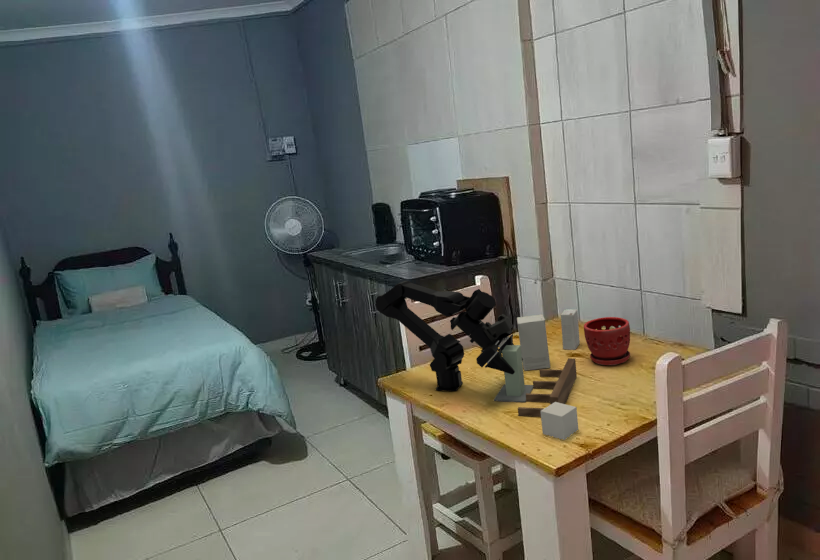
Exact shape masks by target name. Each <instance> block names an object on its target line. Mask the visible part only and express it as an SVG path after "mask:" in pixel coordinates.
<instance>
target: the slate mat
mask: <svg viewBox="0 0 820 560" xmlns="http://www.w3.org/2000/svg"><path fill="white" fill-rule="evenodd" d="M533 389H534V388H533V384H525V390H524V392H523V394H522V395H521V396H507V393H506V384H505V383H504V384H503V385H502V386H501V388H500V390H499V391H498V392H497V394H496V395H495V397H494V398H493V401H494V402H505V403H506V402H507V403H526V402H527V401H526V393H531V394H532V391H533Z"/></svg>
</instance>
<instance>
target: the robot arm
mask: <svg viewBox="0 0 820 560" xmlns="http://www.w3.org/2000/svg"><path fill="white" fill-rule="evenodd" d="M406 299H409V300H413V301H416V302H418V303H422V304H425V305H427V306H431V307H432V308H434V310H435V311H436V312H437V313H438V314H441V315H442V316H444V317H446V318H447V317H452V316H454V315H457V316H456V317H452V318H451V319H449V323H450V330H452V331H453V330H455V328H456V327H458V329H459V330H461V331H462V332H463V333H464V334H465V335H467V336H468V338H469V339H470V340H469V342H470V343H471V344H473V343H475V344H477V345H478V347H480V348H481V350H480V354H479V355H478V356H477V357H476V358H475V359H476V364H477V365H478V366H480V367H481V368H483V367H484V368H485V369H486V368H489V369H493V370H498V371H500V372H503V373H504V372H506V373H509V374H514V373H515V371H514V369H513V368H512V367H511V366H510V365H509V364H508V363H507V361H506V360H505V359H504V358H503V357H502V350H503V349H504V348H505V346H506V345H515V344H514V342H513V337H514V334H513V330H512V329H513V328H514V325H513V323H512V322H511V321H512V318H511V317H509V316H507V315H506V314H504V313H502V314H500V315H499V316H498V317H497V321H495V322H494V323H490V322H489V321H486V322H484V321H483V320H484V319H485V318H486V317H487V316H488V315H489V314H490V312H491V311H492V310H493V309H494V308H495V307H496V306H497V305H496V304H497V303H496V300H495V298H494V297H493V295H491V294H490V293H487V292H485V291H481V289H480V288H477V289H475V290H474V291H473V292H472V294H471V296H467V295H464V294H463V293H461V292H460V291H453V290H446V291H445V290H444V291H441V290H436V289H433V288H429V287H425V286H423V285H419V284H418V283H417V284H416V283H413V282H411V281H410V280H404V281H401V282H399V283H396V284H395V285H394V286H393V287H392V288H391V289H389V290H387V291H386V292H385V293H382V294H381V295H378V296H377V297H376V299H375V308H376V310H377V311H378V312H379V314H382V315H383V316H384V317H387V318H389V319H390V318H391V319H394V320H397V321H398V322H399V323H400V324H402V325H403V326H404V327H405V328H406V329H408V330H409V331H410V332H411V333H412V334H414V335H415V336H416V337H417V338H418V339H419V340H420V341H421V342H423V343H424V344H425V345H426V346H427V347H428V348H429V349H430V352H431V356H432V358H433V360H432V361H431V362H430V363H429V368H431V372H435V377H436V384H437V386H436V387H435V391H437V392H438V391H440V392H441V391H443V392H456V391H458V390H459V388H460V387H461V386H462V385H463V383H464V382H463V379H462V372H461V370H460V368H459V365H461V364H462V362H463V358H464V357H465V347H464V346H463V344H461V341H460V340H459V339H457V338H456V337H455V336H454V335H453V334H450V333H448V334H446V335H441V334H440V333H439V332H438V331H436V330H435V329H434V328H433V327H432V326H431V325H429V324H428V323H426V321H424V320H423V319H422V318H421V317H420V316H418V315H417V314H416V313H415V312H414V311H412V309H410V308H409V307H408V304H407V301H406ZM464 310H465V311H464ZM522 361H523V358H522Z"/></svg>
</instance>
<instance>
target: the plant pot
mask: <svg viewBox="0 0 820 560" xmlns="http://www.w3.org/2000/svg"><path fill="white" fill-rule="evenodd" d="M603 327H605V329H602V328H603ZM611 327H614V328H611ZM610 328H611V329H610ZM583 333H584V338H585V341H586V345H587V346H586V347H587V348H588V350H589V352H590V354H589V357H590V359H591V361H592V362H594V363H596V364H598V365H602V366H616V365H621V364H622V363H626V362H627V361H628V360H629V358H630V357H631V352H630V351H629V347H630V344H631V343H630V342H631V327H630V322H629V320H628V319H626V318H624V317H616V316H606V317H598V318H593V319H591V320H588V321H586V322H585V323H584V324H583Z"/></svg>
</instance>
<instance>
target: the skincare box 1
mask: <svg viewBox="0 0 820 560" xmlns="http://www.w3.org/2000/svg"><path fill="white" fill-rule="evenodd" d="M516 321H517V330H518V331H517V332H518V338H519V345H521V355H522V358H523V361H522V364H523V372H524V371H525V372H526V371H533V370H540V369H551V361H550V353H549V345H548V344H549V343H548V335H547V327H546V319H545V317H544V315H543V314H536V315H535V314H534V315H527V316H518V317H516Z"/></svg>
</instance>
